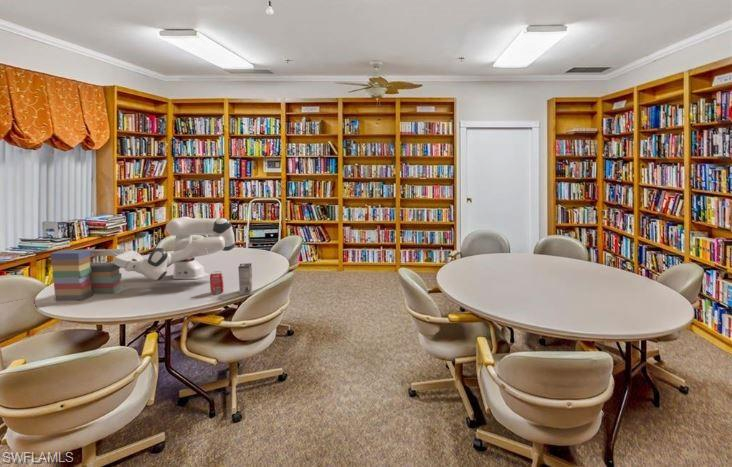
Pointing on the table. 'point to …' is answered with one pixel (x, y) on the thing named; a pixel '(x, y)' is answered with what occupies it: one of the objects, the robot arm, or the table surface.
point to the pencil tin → (105, 252)
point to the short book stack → (105, 278)
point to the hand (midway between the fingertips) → (114, 251)
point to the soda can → (216, 282)
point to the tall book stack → (71, 275)
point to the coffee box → (245, 278)
